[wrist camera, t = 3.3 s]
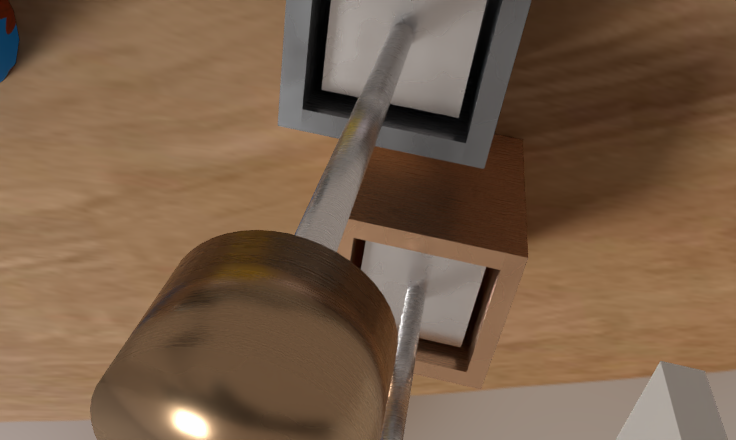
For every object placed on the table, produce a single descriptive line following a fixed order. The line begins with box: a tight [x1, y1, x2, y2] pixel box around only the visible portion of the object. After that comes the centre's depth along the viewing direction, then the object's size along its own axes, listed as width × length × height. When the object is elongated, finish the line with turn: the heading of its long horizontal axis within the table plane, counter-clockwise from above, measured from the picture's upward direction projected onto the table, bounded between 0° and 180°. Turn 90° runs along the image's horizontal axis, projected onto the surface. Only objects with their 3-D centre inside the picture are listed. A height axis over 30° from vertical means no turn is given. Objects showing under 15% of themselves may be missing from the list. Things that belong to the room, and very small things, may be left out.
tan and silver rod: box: [90, 0, 487, 440], centre depth 18 cm, size 6×6×21 cm
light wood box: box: [337, 134, 528, 389], centre depth 38 cm, size 12×9×12 cm
